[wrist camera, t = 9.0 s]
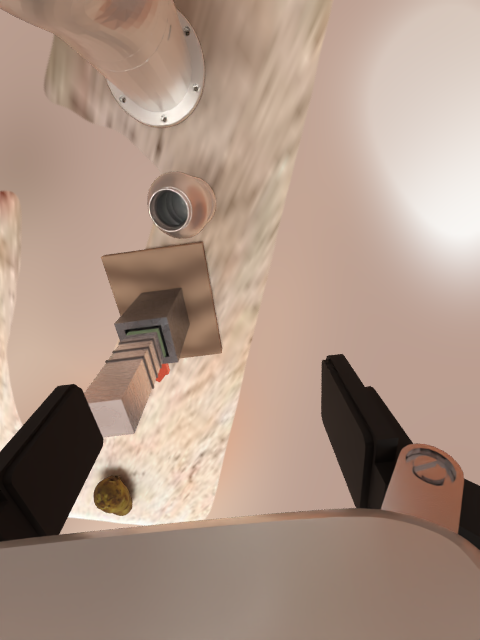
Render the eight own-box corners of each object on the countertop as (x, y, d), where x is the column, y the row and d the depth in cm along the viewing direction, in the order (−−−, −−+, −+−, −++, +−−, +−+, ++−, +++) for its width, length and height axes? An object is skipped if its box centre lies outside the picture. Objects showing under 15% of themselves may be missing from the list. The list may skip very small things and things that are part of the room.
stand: (104, 255, 46) (59, 279, 34) (202, 241, 46) (191, 261, 34) (138, 359, 55) (112, 408, 42) (221, 348, 54) (219, 395, 42)
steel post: (140, 313, 42) (74, 404, 25) (167, 310, 42) (122, 398, 25) (147, 338, 44) (91, 439, 26) (174, 335, 44) (135, 434, 26)
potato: (100, 497, 71) (85, 532, 64) (104, 461, 66) (88, 495, 59) (134, 501, 72) (123, 536, 65) (140, 466, 67) (129, 500, 60)
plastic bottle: (190, 232, 45) (162, 262, 27) (164, 191, 43) (114, 194, 25) (225, 210, 44) (220, 226, 26) (200, 167, 42) (176, 151, 23)
